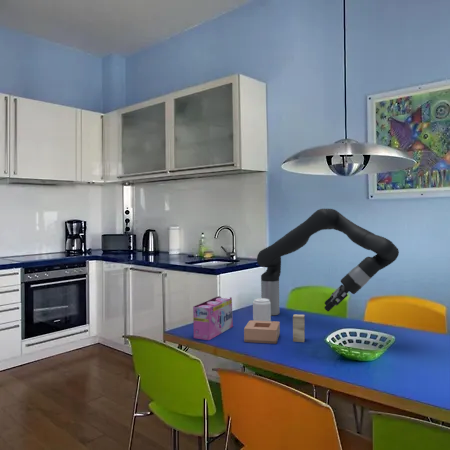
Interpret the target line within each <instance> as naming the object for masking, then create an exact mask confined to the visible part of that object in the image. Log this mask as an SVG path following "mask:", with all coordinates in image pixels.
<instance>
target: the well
mask: <svg viewBox="0 0 450 450" xmlns="http://www.w3.org/2000/svg"><path fill="white" fill-rule="evenodd" d="M280 323H281V322H280V321H277V320H276V321H274V320H273V321H272V320H271V321H254V320H253V319H252V320H249V321H248V322H247V324H246V325H245V326H244V328H243V340H244V341H243V342H244V343H256V344H271V345H272V344H274V345H276V344H278V342H279V341H278V340H279V338H280V335H281V334H280V333H281V331H280V330H281V327H280V326H281V325H280Z"/></svg>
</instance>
